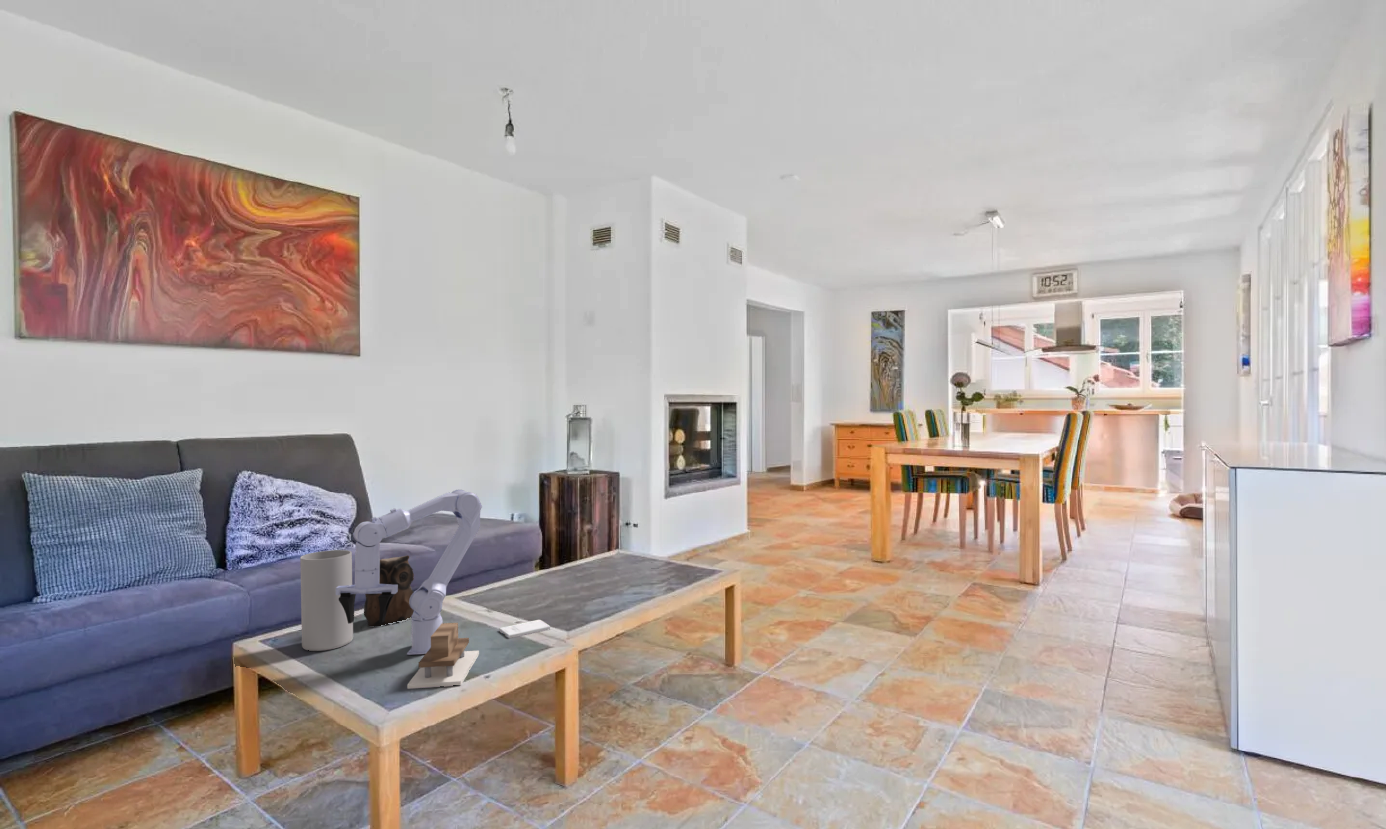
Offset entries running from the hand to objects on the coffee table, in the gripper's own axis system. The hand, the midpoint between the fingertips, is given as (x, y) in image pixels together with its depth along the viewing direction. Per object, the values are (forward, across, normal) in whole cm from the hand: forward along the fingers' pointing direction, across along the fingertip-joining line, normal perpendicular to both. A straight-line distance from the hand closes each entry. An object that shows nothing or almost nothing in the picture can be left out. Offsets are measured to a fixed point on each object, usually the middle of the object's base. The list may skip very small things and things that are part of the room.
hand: (366, 622), depth 169 cm
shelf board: (+6, +22, -9) cm, 24 cm away
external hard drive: (+10, +37, +19) cm, 43 cm away
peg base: (+10, +22, -9) cm, 25 cm away
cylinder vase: (+11, -16, +17) cm, 26 cm away
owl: (+10, -6, +37) cm, 39 cm away
